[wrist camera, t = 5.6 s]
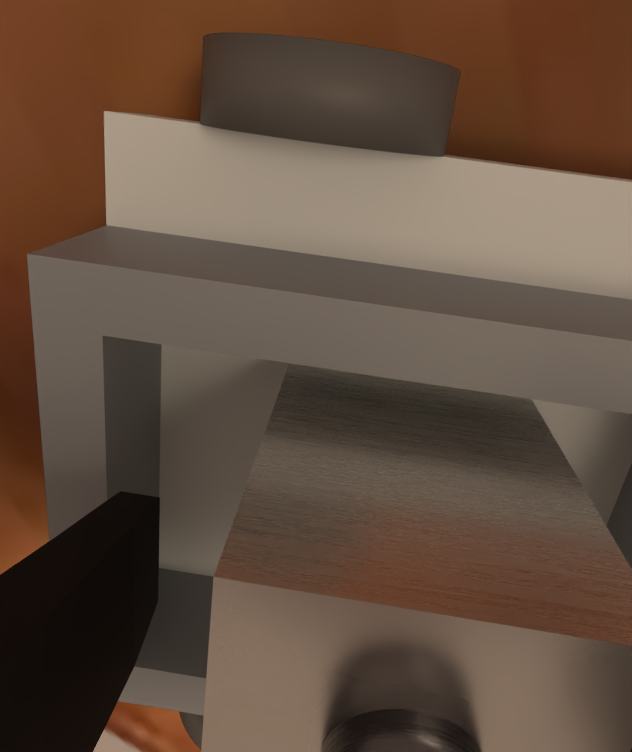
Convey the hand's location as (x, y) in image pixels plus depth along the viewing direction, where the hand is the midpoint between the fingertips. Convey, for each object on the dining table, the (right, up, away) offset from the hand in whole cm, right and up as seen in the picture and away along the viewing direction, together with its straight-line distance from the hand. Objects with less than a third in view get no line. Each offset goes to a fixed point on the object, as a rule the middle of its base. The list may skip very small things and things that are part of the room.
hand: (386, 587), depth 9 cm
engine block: (0, +2, +2) cm, 3 cm away
